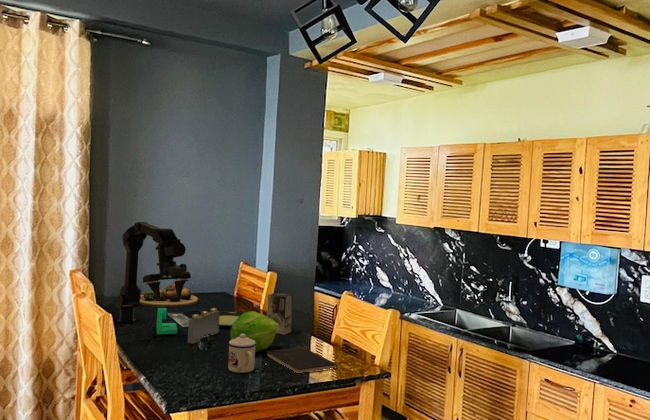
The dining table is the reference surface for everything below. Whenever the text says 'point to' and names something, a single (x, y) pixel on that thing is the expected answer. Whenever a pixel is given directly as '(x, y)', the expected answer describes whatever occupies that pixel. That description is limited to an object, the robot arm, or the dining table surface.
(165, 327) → the camera mount
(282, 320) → the coffee box
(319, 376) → the dining table surface
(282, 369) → the dining table surface
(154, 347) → the dining table surface
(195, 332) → the grey upright panel
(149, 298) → the wooden plate with food
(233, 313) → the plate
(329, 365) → the hardcover book
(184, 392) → the dining table surface
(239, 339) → the teacup with lid
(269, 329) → the lettuce
